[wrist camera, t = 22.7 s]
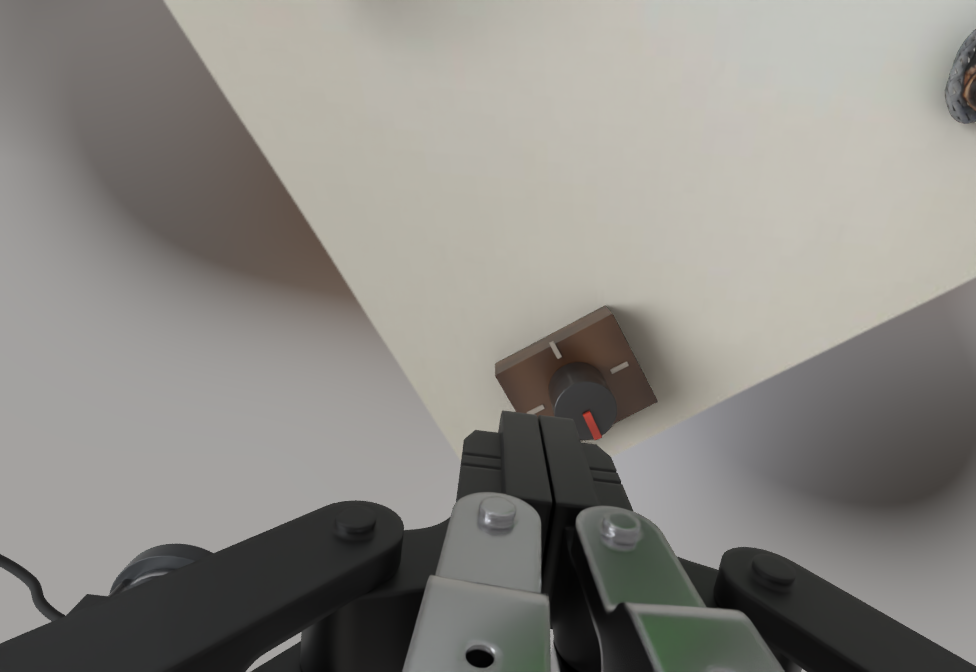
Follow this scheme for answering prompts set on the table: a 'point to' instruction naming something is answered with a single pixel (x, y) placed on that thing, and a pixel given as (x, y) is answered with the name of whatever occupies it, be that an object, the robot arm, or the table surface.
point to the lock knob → (583, 399)
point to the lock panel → (576, 342)
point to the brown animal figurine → (963, 83)
